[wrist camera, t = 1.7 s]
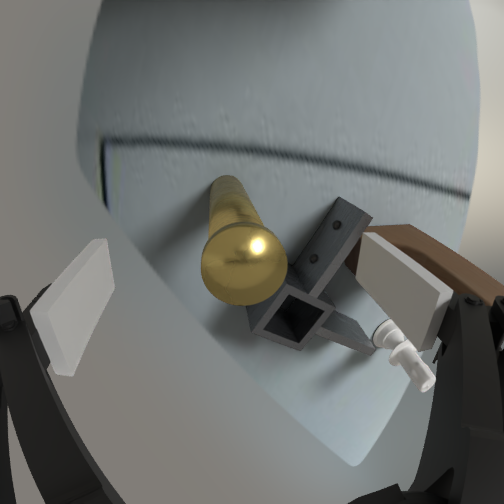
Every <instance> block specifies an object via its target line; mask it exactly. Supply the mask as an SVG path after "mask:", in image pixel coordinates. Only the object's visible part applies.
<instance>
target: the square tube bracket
mask: <svg viewBox="0 0 504 504" xmlns="http://www.w3.org/2000/svg"><path fill="white" fill-rule="evenodd" d="M372 219H373V218H372V217H371V216H370V215H368V214H367V213H366V212H364V211H363V210H361V209H359V208H358V207H356V206H354V205H353V204H351V203H349V202H348V201H346V200H344V199H342V198H341V197H339V198H338V199H337V201H336V202H335V204H334V205H333V207H332V208H331V210H330V211H329V213H328V214H327V216H326V217H325V219H324V220H323V222H322V223H321V225H320V226H319V228H318V229H317V231H316V232H315V234H314V235H313V237H312V238H311V240H310V241H309V243H308V244H307V246H306V247H305V249H304V250H303V252H302V253H301V255H300V256H299V258H298V259H297V261H296V262H295V263H294V265H293V266H291V265H290V264H287V273H286V276H285V279H284V281H283V283H282V285H281V286H280V288H279V289H278V290H277V291H276V292H275V293H274V294H273V295H272V296H270V297H269V298H267V299H266V300H264V301H262V302H259V303H256V304H253V305H246V309H247V313H248V318H249V323H250V328H251V333H254V334H256V335H259V336H262V337H264V338H267V339H269V340H272V341H275V342H277V343H280V344H283V345H285V346H288V347H291V348H293V349H296V350H299V351H301V350H302V349H303V347H304V346H305V345H306V344H307V343H308V341H309V340H310V339H311V338H312V337H313V335H314V334H316V335H319V336H321V337H324V338H326V339H329V340H331V341H334V342H336V343H339V344H341V345H344V346H347V347H349V348H352V349H354V350H357V351H360V352H362V353H365V354H368V355H370V356H371V355H372V354H373V352H374V351H375V350H376V349H375V347H374V346H373V344H372V343H371V341H370V340H369V338H368V337H367V335H366V334H365V332H364V331H363V330H362V328H361V327H360V325H359V324H358V322H357V321H356V320H354V319H351V318H349V317H347V316H345V315H343V314H341V313H339V312H337V311H335V310H334V309H335V308H336V307H335V306H334V304H333V303H332V301H331V300H330V298H329V297H328V295H327V293H326V292H325V290H324V288H325V286H326V285H327V284H328V282H329V281H330V280H331V278H332V277H333V275H334V274H335V273H336V271H337V270H338V269H339V267H340V266H341V264H342V263H343V261H344V260H345V259H346V257H347V256H348V254H349V253H350V251H351V250H352V249H353V247H354V246H355V244H356V243H357V241H358V240H359V238H360V237H361V235H362V234H363V232H364V231H365V229H366V228H367V226H368V225H369V223H370V222H371V220H372ZM289 294H290V295H292V296H294V297H296V299H295V300H294V301H293V303H292V304H291V305H290V307H289V308H288V309H287V311H285V310H282V309H280V308H279V307H280V306H281V304H282V303H283V301H284V300H285V299H286V297H287V296H288V295H289Z"/></svg>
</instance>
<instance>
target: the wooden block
mask: <svg viewBox="0 0 504 504" xmlns="http://www.w3.org/2000/svg"><path fill="white" fill-rule="evenodd" d="M364 232H375V233H376V234H378V235H379V236H381V237H382V238H383V239H385V240H386V241H388V242H389V243H391V244H392V245H393V246H395V247H396V248H398V249H399V250H401V251H402V252H403V253H405V254H406V255H407V256H409V257H410V258H412V259H413V260H414V261H416V262H417V263H418V264H420V265H421V266H422V267H424V268H425V269H426V270H428V271H429V272H430V273H432V274H433V275H434V276H436V277H437V278H438V279H439V280H441V281H442V282H443V283H445V284H446V285H447V286H448V287H450V288H451V289H452V290H453V291H454V292H456V293H457V294H458V295H460V294H463V293H467V294H472V295H475V296H477V297H479V298H480V299H482V300H483V301H484V303H485V306H492V305H493V302H494V300H495V297H496V296H498V295H499V296H504V286H503V285H502V284H501V283H499V282H498V281H497V280H495V279H494V278H492V277H491V276H490V275H488V274H487V273H485V272H484V271H483V270H481V269H479V268H478V267H476V266H475V265H474V264H472V263H471V262H469V261H468V260H466V259H465V258H463V257H462V256H460V255H459V254H457V253H456V252H454V251H453V250H451V249H450V248H448V247H446V246H445V245H443V244H442V243H440V242H439V241H437V240H435V239H434V238H432V237H431V236H429V235H427V234H426V233H424V232H422V231H420V230H419V229H417V228H415V227H414V226H412V225H410V224H406V225H386V226H368V227H367V228H366V229H365V231H364ZM362 235H363V234H362ZM362 235H361V237H360V238H359V240H358V241H357V243H356V244H355V246H354V247H353V249H352V250H351V251H350V253H349V254H348V256H347V257H346V259H345V260H344V263H345V265H346V266H347V267H348V269H349V270H350V271H351V272H352V273H353V274H354V275H355V276H356V272H357V266H358V260H359V254H360V248H361V241H362Z"/></svg>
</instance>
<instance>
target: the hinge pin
mask: <svg viewBox="0 0 504 504" xmlns="http://www.w3.org/2000/svg"><path fill="white" fill-rule="evenodd" d="M287 264H288V262H287V256H286V253H285V250H284V248H283V246H282V245H281V243H280V241H279V240H278V238H277V237H276V235H275V234H274V233H273V232H272V231H270V230H269V229H268V228H266V227H265V226H264V225H263V223H262V221H261V219H260V217H259V215H258V214H257V212H256V210H255V208H254V206H253V204H252V202H251V200H250V198H249V197H248V195H247V193H246V191H245V189H244V187H243V185H242V184H241V182H240V181H239V180H238V179H237V178H236V177H234V176H230V175H224V176H221V177H219V178H217V179H216V180H215V181H214V182H213V183H212V185H211V189H210V209H209V239H208V241H207V242H206V244H205V246H204V249H203V252H202V258H201V275H202V279H203V281H204V284H205V286H206V287H207V289H208V290H209V291H210V292H211V294H213V295H214V296H215V297H216V298H218V299H219V300H221V301H223V302H225V303H228V304H232V305H238V306H246V305H253V304H256V303H259V302H262V301H264V300H266V299H267V298H269V297H270V296H272V295H273V294H274V293H275V292H276V291H277V290H278V289H279V288H280V286H281V285H282V283H283V281H284V279H285V276H286V273H287Z"/></svg>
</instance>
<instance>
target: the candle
mask: <svg viewBox="0 0 504 504" xmlns="http://www.w3.org/2000/svg"><path fill="white" fill-rule="evenodd" d="M373 342H374V344H375V345H376V346H377V347H381V348H382V347H383V348H385V349H391V350H393V351H392V353H391V354H390V357H389V362H390V364H391V365H394V366H398V365H401V366H402V367H403V368H404V370H405V371H406V373H407V374H408V376H409V377H410V379H411V380H412V381H413V383H414V384H415V386H416V387H417V388H418V390H419V391H421V392H426V391H427V390H428V389H430V388H431V387H432V386H433V385H434V383H435V381H436V378H435V376H434V374H433V373H432V372H431V370H430V369H429V367H428V366H427V365H426V364H425V363H424V362H423V361H422V360H421V359H420V357H419V356H418V355H417V353H416V351H417V349H416V348H415V347H414V346H413V344H412V343H411V342H410V341H409V340H405V341H404V334H403V333H402V331H401V330H400V329H399V328H398V327H397V326H396V324H395V323H394V322H393V321H392V320H391V319H389V320H387V321H385V322H384V323H382V324H381V325H380V326H379V327H378V328H377V330H376V331H375V333H374V336H373Z"/></svg>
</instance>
